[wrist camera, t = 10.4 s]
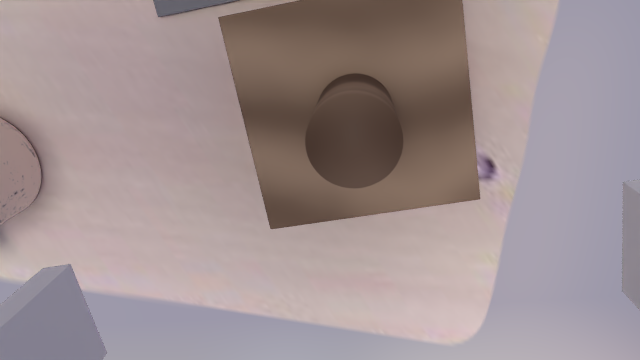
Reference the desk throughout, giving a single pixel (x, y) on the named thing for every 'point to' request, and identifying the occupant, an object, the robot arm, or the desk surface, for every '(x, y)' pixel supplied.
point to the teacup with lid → (16, 172)
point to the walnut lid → (355, 106)
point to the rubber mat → (183, 5)
